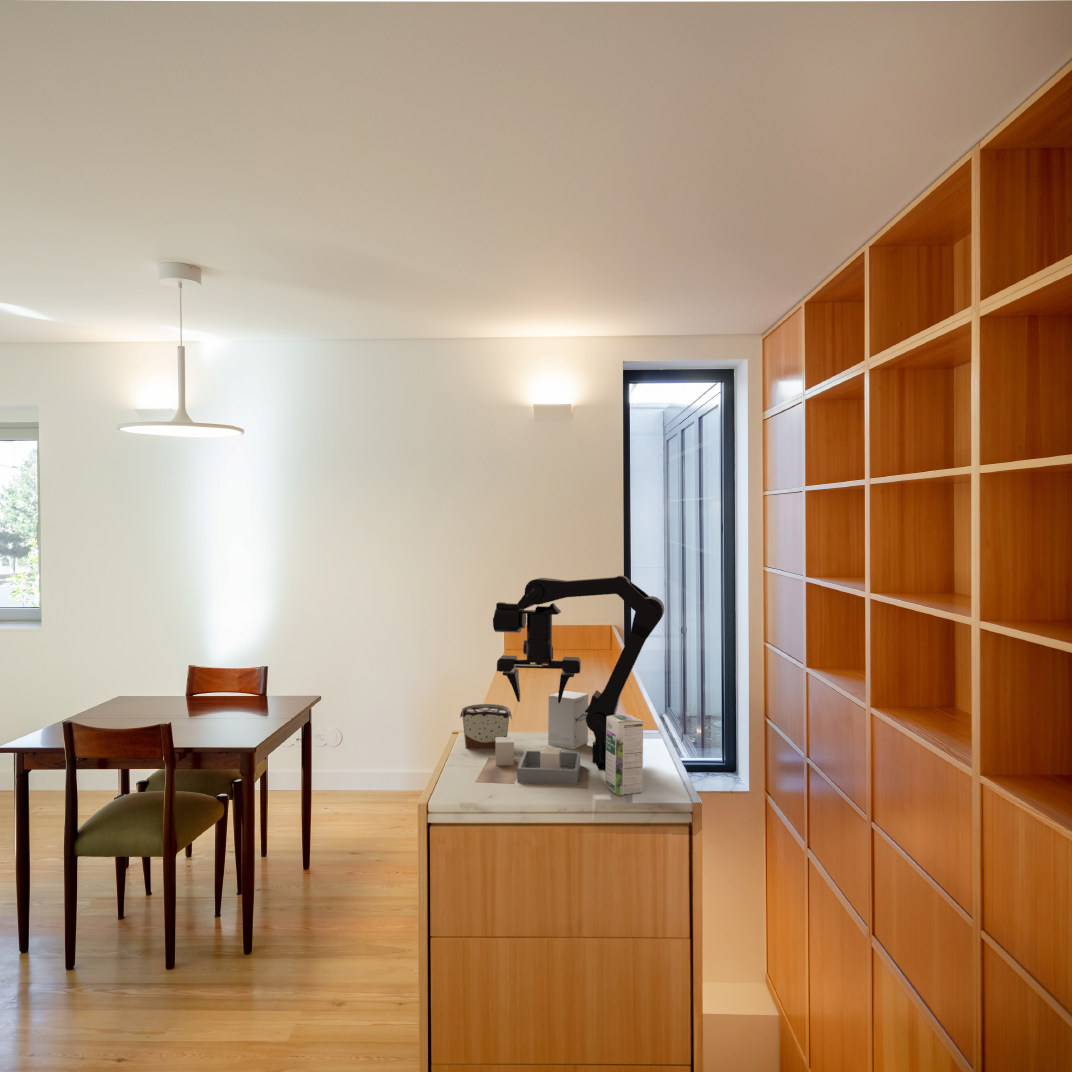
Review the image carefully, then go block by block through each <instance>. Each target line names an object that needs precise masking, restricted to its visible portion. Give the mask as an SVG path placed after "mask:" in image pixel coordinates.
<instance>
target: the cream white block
mask: <svg viewBox="0 0 1072 1072" xmlns="http://www.w3.org/2000/svg"><path fill="white" fill-rule="evenodd" d="M494 751H495V752H494V753H495V754H494V755H495V757H494V758H495V765H514V758H515V739H514V736H507V737H495V749H494Z"/></svg>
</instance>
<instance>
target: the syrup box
mask: <svg viewBox="0 0 1072 1072" xmlns="http://www.w3.org/2000/svg"><path fill="white" fill-rule="evenodd" d="M643 756H644V720H643V719H639V718H637V717H636V716H634V715H631V714H627V713H626V714H625V713H624V714H623V713H622V714H620V713H618V714H617V713H616V715H611V716H607V723H606V769H605V781H604V783H605V787H606V789H609V790H610V791H611V792H612V793H614V794H615V795H617V796H618V795H621V796H624V795H623V794H627V795H632V794H631V793H634V794H638V793H642V792H643V771H644V768H643V765H644V762H643V761H644V757H643Z"/></svg>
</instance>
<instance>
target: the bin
mask: <svg viewBox="0 0 1072 1072" xmlns="http://www.w3.org/2000/svg"><path fill="white" fill-rule="evenodd" d="M540 752H541V750H529V749H528V750H527V749H526V750H524V751H523V754H522V756H521V758H520V759H521V761H520V763H519V766H518V768H517V778H516V780H517V781H516V782H517V783H521V784H522V783H524V784H525V783H526V784H544V785H545V784H549V785H568V786H578V782H579V777H580V771H581V770H580V769H581V752H578V751H576V752H575V751H561V767H562V766H564V767H574V769H567V768H566V769H565V768H564V769H562V768H561V769H544V768H540V767H527V766H528V765H534V766H535V765H537V766H540Z"/></svg>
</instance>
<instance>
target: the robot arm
mask: <svg viewBox="0 0 1072 1072" xmlns="http://www.w3.org/2000/svg"><path fill="white" fill-rule="evenodd" d="M601 595H602V596H603V595H607V596H608V595H617V596H618V597H620V599H622V600H623V602H624V603H626V604H627V605H628V606H629V607H630V609H632V610H633V611H635V612H634V616H633V619H632V623H631V629H630V633H629V636H628V638H627V640H626V642H625V644H624V647H623V648H622V651H621V653H620V655H619V658H618V659H617V662H616V663H615V665H614V667H613V670H612V672H611V675H610V676H609V679H608V681H607V683H606V685H605V688H604V689H603V690H602V692H600V691H599V690H595V692H594V693H593V695H592V696H591V698H590V703H589V704H588V707H587V709H586V710H585V713H587V715H586V723H587V726H588V730H590V731H592V732H593V734H594V735H593V736H594V738H595V739H594V741H593V742H592V763H593V764H595V765H596V767H597V769H600V770H601V769H602V770H606V723H607V716H611V715H617V710H618V706H619V703H620V699H621V695H622V692H623V690H624V687H625V685H626V683H627V681H628V678H629V677H630V674H631V672H632V670H633V668H634V666H635V663H636V661H637V659H638V657H639V655H640V653H641V651H642V648H643V646H644V645H645V642H646V641H647V639H648V637H649V636H650V635H651V634H652V632H653V630H654V629H655V628H656V627H657V625H659V622H660V621H661V620H662V618H663V616H664V614H665V605H664V603H663V601H662V600H661V599H660V598H659V597H657V596H653V595H649V594H647V593H646V592H645V591H644V590H642V589H641V588H640V587H638V586H637V585H636V584H635V583H634V582H632V581H631V580H630V579H629V578H628V577H627V576H625V575H618V576H613V577H600V578H599V577H598V578H588V579H576V580H575V579H574V580H573V579H572V580H564V579H559V578H557V579H556V578H549V577H548V578H547V577H540V578H539V577H538V578H535V579H531V580H529V581H528V582H527V583H526V585H525V588H524V594H523V595H522V597H521V598H520V600H519V601H518V602H517V603H511V602H510V603H509V602H508V603H507V602H501V601H499V602H497V603H496V604H495V605H496V607H495V611H494V614H493V617H492V627H493V631H494V633H495V632H496V633H515V634H516V633H517V634H519V633H521V632H522V629H525V628H526V640H524V641H523V646H522V647H523V649H522V653H523V654H524V655H526V659H518V656H517V655H505V654H503V655H501V656H500V657H499V658H498V659H497V662H496V672H499V673H500V672H502V676H506V677H507V679H508V681H509V683H510V684H511V687H512V690H513V693H514V695H515V697H516V700H517V702H518V703H520V702H521V688H520V687H521V686H520V679H519V678H520V677H519V669H550V670H552V669H553V670H554V669H557V670H561V673H560V679H559V687H558V692H559V694H558V703H560V702H561V698H562V695H563V692H564V691H565V688H566V686H567V683H568V681H569V679H570V678H574V677H575V675H577V674H580V673H581V670H582V659H581V658H580V657H579V656H563V658H562V660H557V659H555V660H553V659H554V647H553V615H555V616H556V615H559V614H560V613H562V610H561V609H559V607H558V606H556V604H555V603H554V602H555V601H558V600H561V599H566V598H577V597H590V596H592V597H593V596H601ZM550 602H552V603H550ZM547 603H550V605H548V606H545V605H544V606H542V605H543V604H547ZM534 605H537V606H536V607H535V609H528V608H530V607H533V606H534ZM540 605H541V606H540Z"/></svg>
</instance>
